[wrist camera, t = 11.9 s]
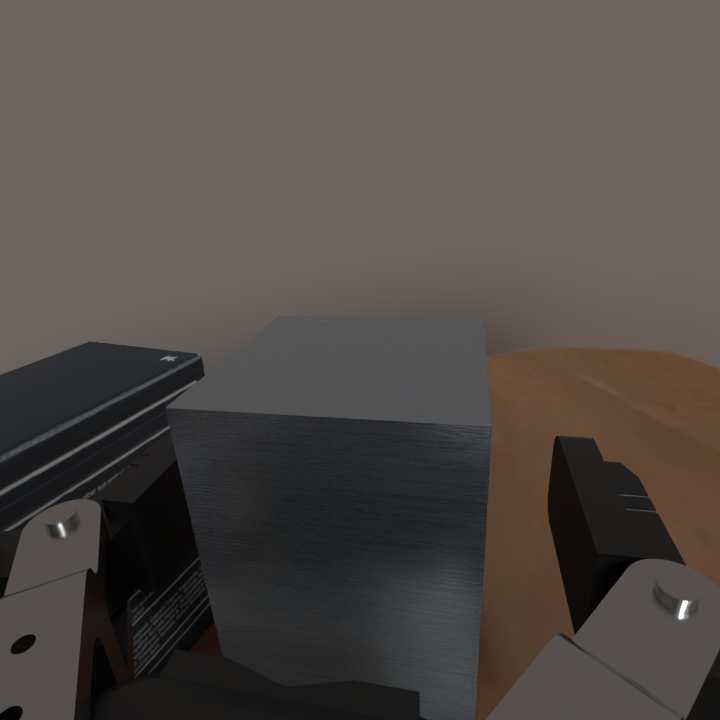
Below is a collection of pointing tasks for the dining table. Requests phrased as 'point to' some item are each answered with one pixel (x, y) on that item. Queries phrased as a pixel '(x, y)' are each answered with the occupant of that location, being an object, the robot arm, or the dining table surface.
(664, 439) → the dining table surface
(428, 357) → the brushed metal pillar
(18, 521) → the small box
